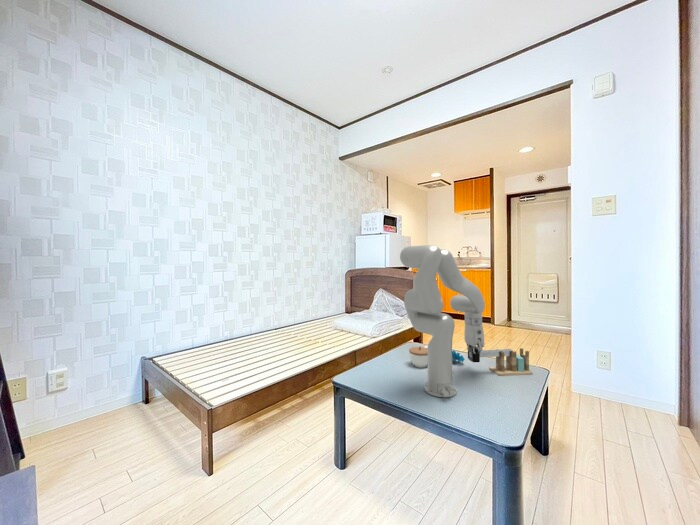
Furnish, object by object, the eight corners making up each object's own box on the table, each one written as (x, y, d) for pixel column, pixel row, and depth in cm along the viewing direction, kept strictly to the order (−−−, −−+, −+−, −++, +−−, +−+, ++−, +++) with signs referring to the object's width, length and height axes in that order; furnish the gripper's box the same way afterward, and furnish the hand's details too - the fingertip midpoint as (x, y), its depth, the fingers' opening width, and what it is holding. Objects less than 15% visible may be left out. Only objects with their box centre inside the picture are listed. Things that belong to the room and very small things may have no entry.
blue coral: (469, 361, 144) (457, 349, 142) (464, 371, 142) (453, 359, 139) (451, 357, 154) (440, 346, 151) (446, 367, 151) (435, 356, 148)
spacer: (524, 371, 132) (524, 358, 132) (518, 371, 132) (518, 358, 132) (517, 366, 138) (517, 354, 137) (512, 366, 138) (512, 354, 138)
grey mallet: (514, 360, 133) (513, 347, 132) (472, 362, 131) (472, 349, 131) (509, 357, 136) (509, 345, 136) (468, 359, 134) (468, 346, 134)
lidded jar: (408, 368, 141) (408, 349, 140) (410, 360, 151) (410, 342, 151) (430, 370, 137) (430, 350, 137) (431, 362, 148) (431, 344, 148)
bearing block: (532, 374, 131) (532, 352, 131) (499, 375, 130) (498, 353, 130) (520, 367, 139) (520, 347, 139) (489, 369, 138) (488, 348, 138)
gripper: (491, 324, 125) (491, 366, 125) (472, 317, 141) (472, 354, 141) (474, 325, 124) (475, 367, 124) (457, 317, 141) (457, 354, 141)
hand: (473, 360), depth 133 cm, fingers closed on grey mallet, 3 cm apart
